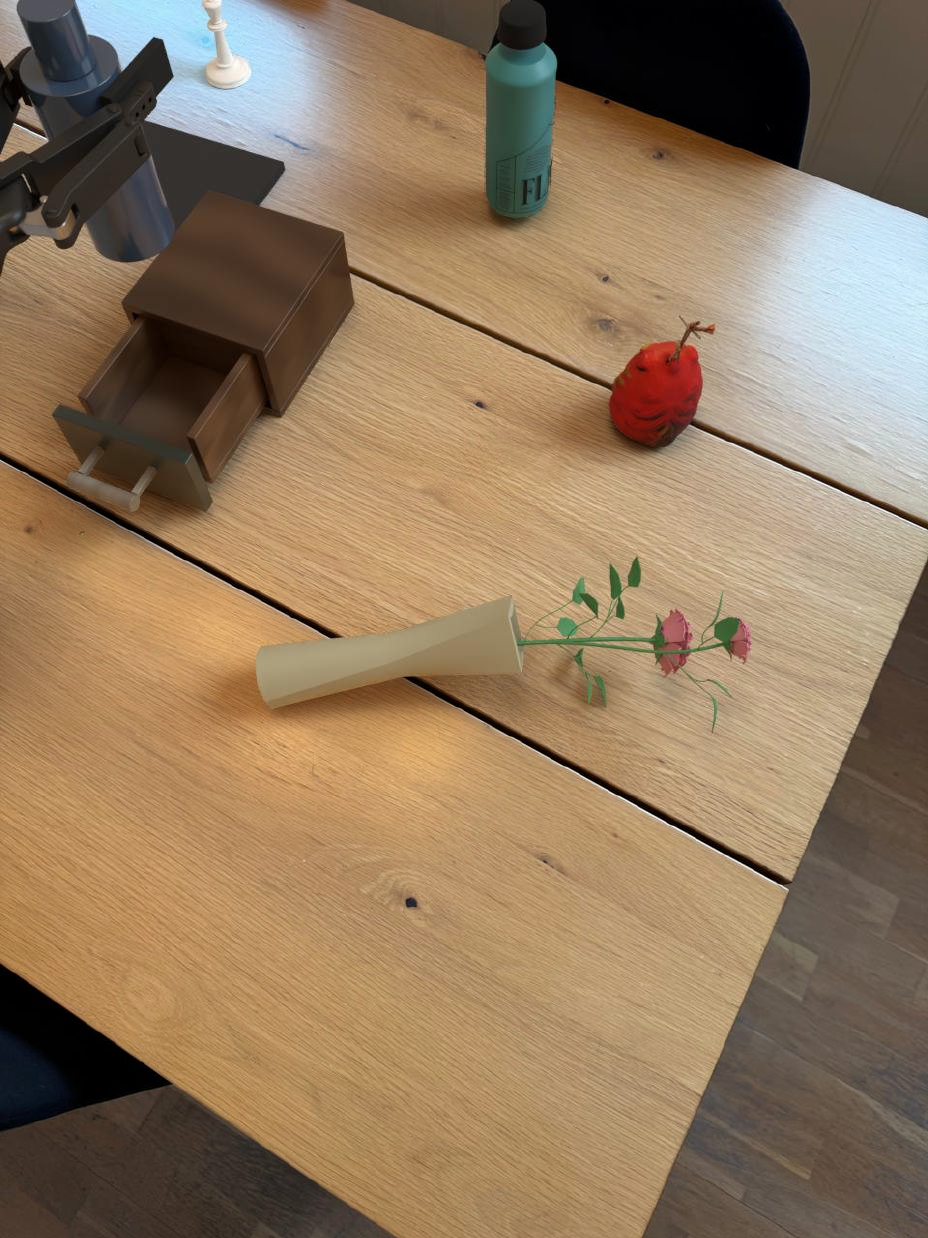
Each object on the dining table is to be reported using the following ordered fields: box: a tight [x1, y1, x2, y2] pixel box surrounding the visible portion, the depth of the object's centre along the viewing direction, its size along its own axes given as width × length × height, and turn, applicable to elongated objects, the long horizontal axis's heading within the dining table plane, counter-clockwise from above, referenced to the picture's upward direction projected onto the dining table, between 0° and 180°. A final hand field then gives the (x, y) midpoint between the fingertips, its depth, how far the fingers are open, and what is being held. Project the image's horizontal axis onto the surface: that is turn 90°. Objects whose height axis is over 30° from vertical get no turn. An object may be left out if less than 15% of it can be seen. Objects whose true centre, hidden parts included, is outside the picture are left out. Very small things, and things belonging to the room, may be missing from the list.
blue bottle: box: [15, 0, 175, 264], centre depth 71 cm, size 6×6×18 cm
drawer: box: [51, 315, 269, 513], centre depth 85 cm, size 18×12×7 cm
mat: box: [141, 119, 286, 234], centre depth 103 cm, size 18×14×1 cm
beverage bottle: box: [483, 0, 558, 219], centre depth 93 cm, size 6×7×20 cm
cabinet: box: [120, 190, 355, 418], centre depth 91 cm, size 15×14×9 cm
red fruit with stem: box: [608, 314, 716, 449], centre depth 83 cm, size 8×7×15 cm
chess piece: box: [201, 0, 252, 90], centre depth 107 cm, size 5×5×10 cm
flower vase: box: [255, 555, 753, 734], centre depth 75 cm, size 12×12×35 cm
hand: (119, 44), depth 70 cm, fingers closed on blue bottle, 6 cm apart
